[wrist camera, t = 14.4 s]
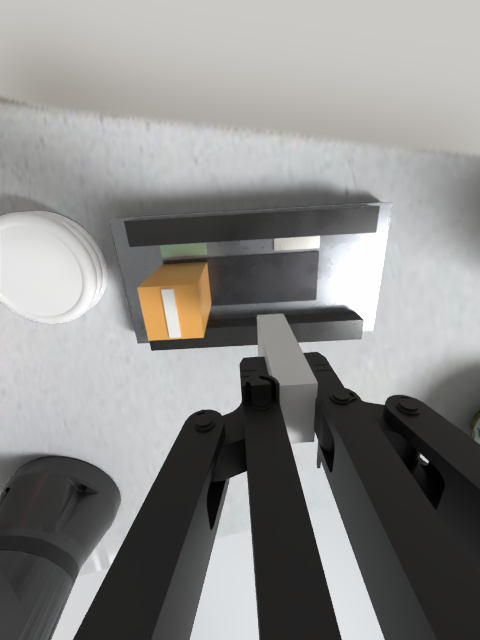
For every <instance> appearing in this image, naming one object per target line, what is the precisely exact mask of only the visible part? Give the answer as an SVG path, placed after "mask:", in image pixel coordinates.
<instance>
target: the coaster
mask: <svg viewBox="0 0 480 640" xmlns="http://www.w3.org/2000/svg"><path fill="white" fill-rule="evenodd" d="M107 278H108V271H107V264H106V260H105V258H104V255H103V253H102V251H101V249H100V247H99V245H98V244H97V242H96V241H95V240H94V238H93V237H92V236H91V235H90V234H89V233H88V232H87V231H86V230H85V229H84V228H82V227H81V226H80V225H79V224H77V223H75V222H74V221H72V220H70V219H68V218H66V217H64V216H61V215H59V214H56V213H52V212H47V211H28V212H14V213H8V214H4V215H2V216H0V302H1V303H2V304H3V305H4V306H5V307H7V308H8V309H9V310H11V311H13V312H14V313H16V314H18V315H20V316H22V317H24V318H26V319H29V320H32V321H36V322H40V323H47V324H57V323H64V322H68V321H71V320H74V319H76V318H78V317H80V316H81V315H82V314H84V313H85V312H86V311H87V310H89V309H90V308H91V307H93V306H94V305H95V304H96V303H97V302H98V301H99V300H100V298H101V297H102V295H103V293H104V291H105V288H106V285H107Z"/></svg>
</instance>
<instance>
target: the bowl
mask: <svg viewBox="0 0 480 640" xmlns="http://www.w3.org/2000/svg"><path fill="white" fill-rule="evenodd" d="M472 428H473V433H472V435H471V438H472V439H473V440H475V441H476V442H478V443H479V444H480V412H478V413H477V415H476V416H475V417H474V419H473V423H472Z"/></svg>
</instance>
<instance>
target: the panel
mask: <svg viewBox="0 0 480 640" xmlns="http://www.w3.org/2000/svg"><path fill="white" fill-rule="evenodd" d="M392 204H393V202H373V203H356V204H339V205H323V206H306V207H289V208H273V209H256V210H239V211H222V212H206V213H189V214H172V215H156V216H139V217H122V218H114V219H109V222H110V227H111V231H112V235H113V239H114V244H115V248H116V252H117V256H118V261H119V265H120V269H121V274H122V278H123V282H124V286H125V291H126V295H127V299H128V303H129V308H130V312H131V316H132V321H133V325H134V329H135V333H136V338H137V342H138V343H150V346H151V351H153V350H171V349H189V348H208V347H226V346H244V345H258V333H257V315H267V314H282V313H283V314H284V316H285V318H286V320H287V322H288V324H289V326H290V328H291V330H292V332H293V334H294V336H295V338H296V340H297V342H317V341H335V340H353V339H361V338H362V331H372V330H373V325H374V319H375V313H376V306H377V300H378V293H379V287H380V281H381V274H382V268H383V261H384V255H385V249H386V242H387V236H388V229H389V223H390V217H391V210H392ZM193 262H207V265H208V275H209V285H210V294H211V308H210V312H209V316H208V321H207V325H206V329H205V334H204V338H188V339H170V340H152V341H148V336H147V331H146V327H145V322H144V318H143V313H142V308H141V304H140V299H139V294H138V290H137V287H138V286H139V285H141V284H142V283H143V282H144V281H145V280H146V279H147V278H148V277H149V276H150V275H151V274H153V273H154V272H155V271H156V270H157V269H158V268H159V267H160V266H161V265H162V264H176V263H193Z"/></svg>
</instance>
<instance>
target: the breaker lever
mask: <svg viewBox="0 0 480 640" xmlns="http://www.w3.org/2000/svg"><path fill="white" fill-rule="evenodd" d="M137 290H138V294H139V299H140V304H141V308H142V313H143V318H144V322H145V327H146V331H147V336H148V341H152V340H170V339H188V338H204V334H205V329H206V325H207V321H208V316H209V312H210V308H211V294H210V285H209V275H208V265H207V262H193V263H176V264H162V265H161V266H160V267H159V268H158V269H157V270H156V271H155V272H154V273H153V274H151V275H150V276H149V277H148V278H147V279H146V280H145V281H144V282H143V283H142V284H141V285H139V286H138V287H137Z"/></svg>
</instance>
